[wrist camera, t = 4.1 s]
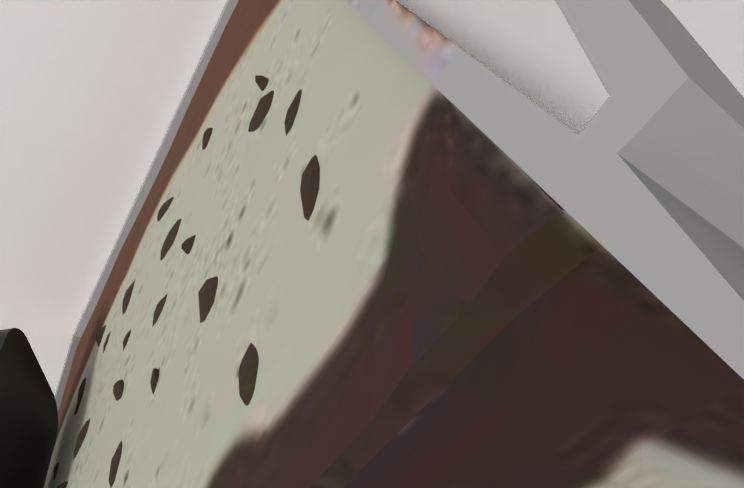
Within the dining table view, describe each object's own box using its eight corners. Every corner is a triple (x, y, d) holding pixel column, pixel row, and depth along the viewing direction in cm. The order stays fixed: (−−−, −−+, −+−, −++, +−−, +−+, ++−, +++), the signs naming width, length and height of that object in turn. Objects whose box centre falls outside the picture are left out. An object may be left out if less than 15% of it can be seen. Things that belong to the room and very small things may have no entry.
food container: (298, 437, 17) (354, 1032, 9) (52, 380, 14) (-184, 1159, 6) (618, 20, 11) (1504, 587, 3) (317, -197, 9) (1141, 83, 1)
